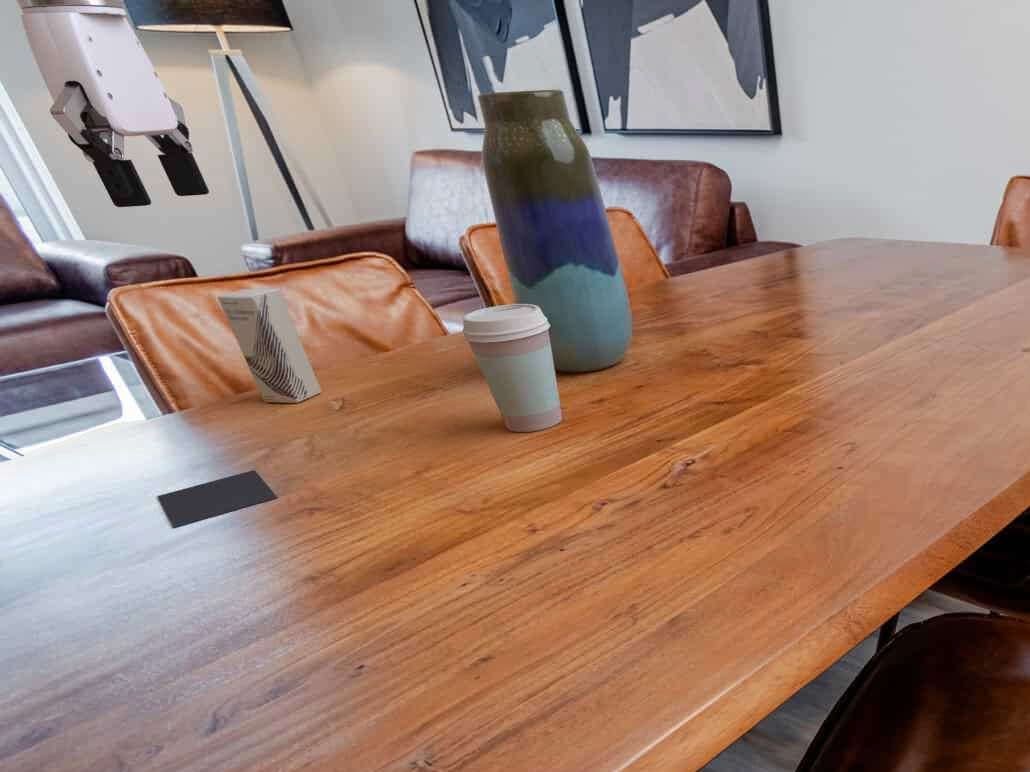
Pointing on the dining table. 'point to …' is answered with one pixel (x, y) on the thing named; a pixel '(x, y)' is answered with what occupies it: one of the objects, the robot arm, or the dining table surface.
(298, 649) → the dining table surface
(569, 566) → the dining table surface
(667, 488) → the dining table surface
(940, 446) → the dining table surface
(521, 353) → the coffee cup
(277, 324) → the box
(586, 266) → the vase
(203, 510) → the edge mat
